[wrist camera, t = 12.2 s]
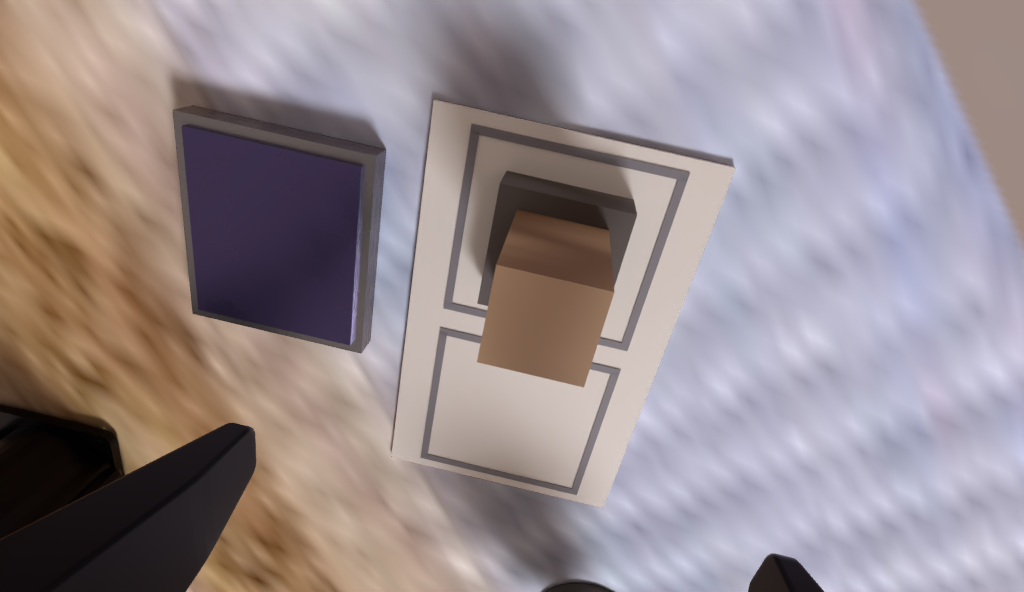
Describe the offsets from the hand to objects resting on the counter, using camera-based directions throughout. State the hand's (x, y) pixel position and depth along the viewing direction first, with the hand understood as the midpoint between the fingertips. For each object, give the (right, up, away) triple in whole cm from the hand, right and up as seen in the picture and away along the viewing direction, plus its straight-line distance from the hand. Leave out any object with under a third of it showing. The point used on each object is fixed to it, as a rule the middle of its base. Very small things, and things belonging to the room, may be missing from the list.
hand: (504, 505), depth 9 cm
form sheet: (+1, +2, +12) cm, 12 cm away
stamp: (+2, +5, +10) cm, 12 cm away
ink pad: (-8, +6, +12) cm, 16 cm away
